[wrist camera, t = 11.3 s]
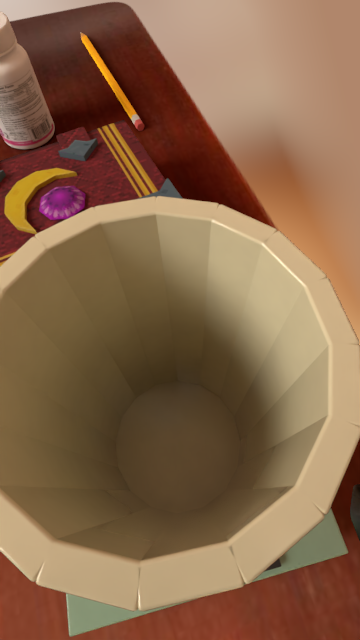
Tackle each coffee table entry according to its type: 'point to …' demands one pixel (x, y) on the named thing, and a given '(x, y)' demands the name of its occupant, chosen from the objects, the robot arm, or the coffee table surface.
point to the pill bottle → (20, 96)
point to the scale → (95, 615)
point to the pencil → (113, 84)
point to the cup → (168, 401)
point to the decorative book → (73, 181)
